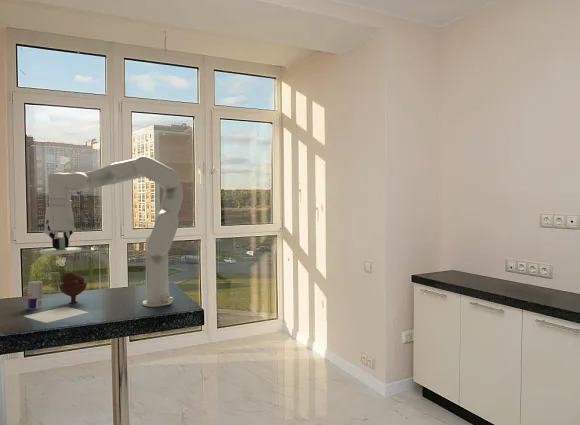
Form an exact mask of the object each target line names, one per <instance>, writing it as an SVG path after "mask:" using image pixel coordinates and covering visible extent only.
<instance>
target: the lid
mask: <svg viewBox="0 0 580 425" xmlns="http://www.w3.org/2000/svg"><path fill="white" fill-rule="evenodd" d="M57 239H59V249H54V248H53V247H52V248H51V247H50V248H45V249H39V255H64V254H75V253H79V252H80V253H81V252H82V248H81V247H78V246H77V247H76V246H75V247H74V246H70V247H69V246H68V248H65V237H63V236H58V238H57Z"/></svg>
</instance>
